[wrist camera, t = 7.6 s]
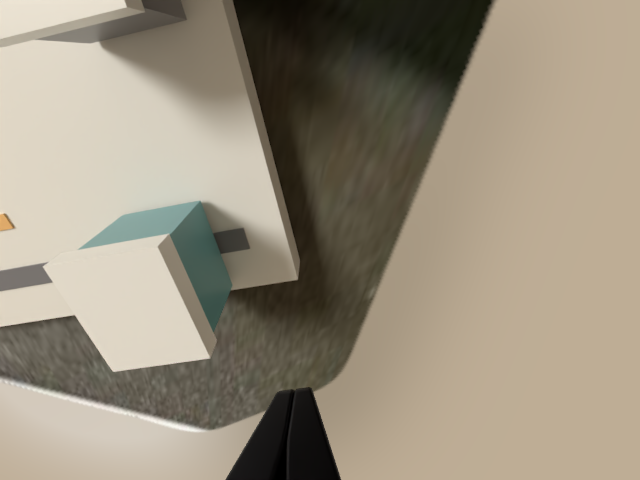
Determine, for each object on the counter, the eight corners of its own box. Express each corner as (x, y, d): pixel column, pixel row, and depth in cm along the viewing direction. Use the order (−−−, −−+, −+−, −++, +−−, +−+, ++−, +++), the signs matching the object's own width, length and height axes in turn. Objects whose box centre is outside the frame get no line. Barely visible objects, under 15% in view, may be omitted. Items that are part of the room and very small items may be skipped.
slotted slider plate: (191, -160, 12) (167, -199, 11) (300, 260, 21) (297, 280, 19) (-318, -9, 15) (-411, -19, 13) (-38, 315, 23) (-70, 338, 21)
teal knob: (202, 195, 16) (157, 246, 12) (237, 287, 19) (210, 358, 14) (117, 211, 17) (42, 266, 12) (161, 299, 19) (112, 371, 15)
